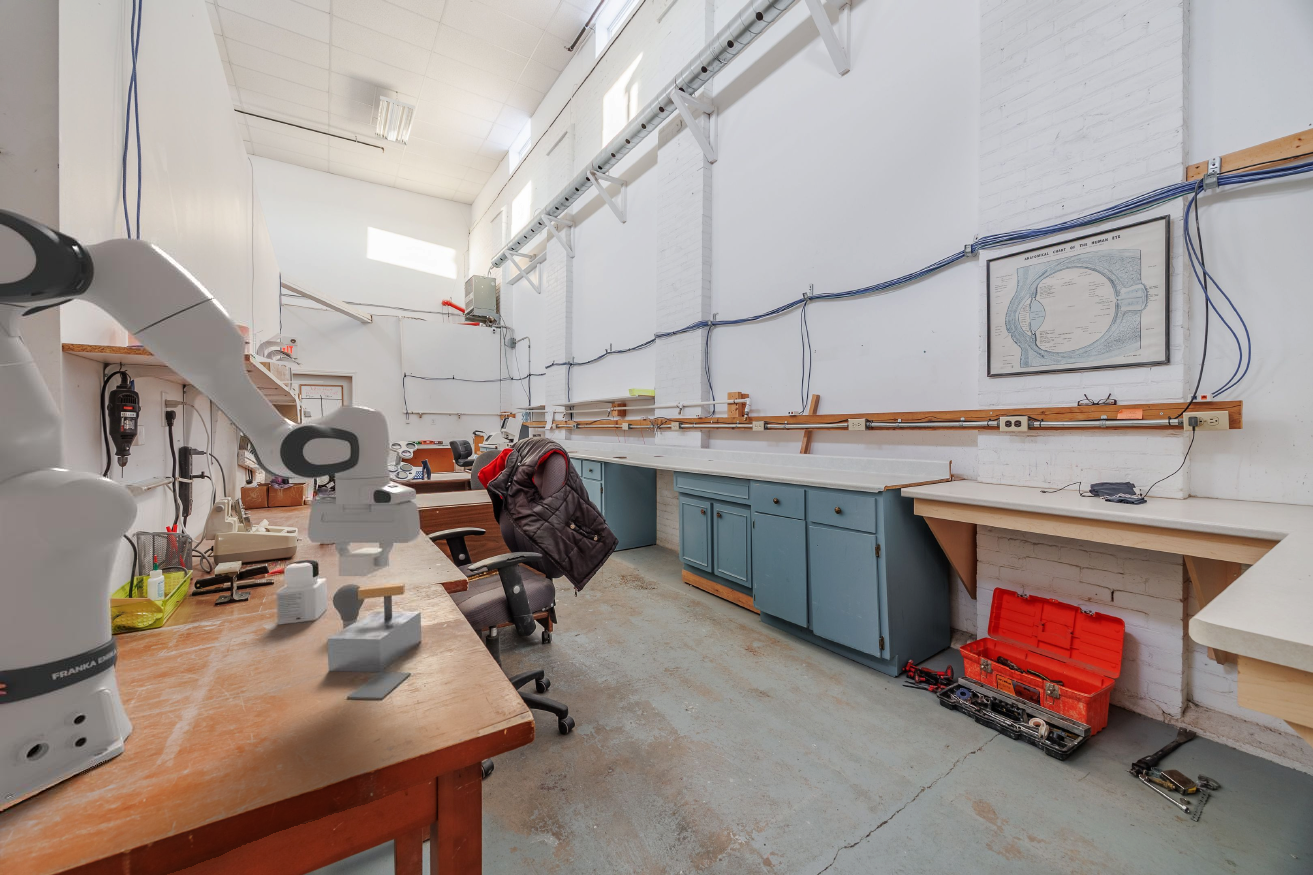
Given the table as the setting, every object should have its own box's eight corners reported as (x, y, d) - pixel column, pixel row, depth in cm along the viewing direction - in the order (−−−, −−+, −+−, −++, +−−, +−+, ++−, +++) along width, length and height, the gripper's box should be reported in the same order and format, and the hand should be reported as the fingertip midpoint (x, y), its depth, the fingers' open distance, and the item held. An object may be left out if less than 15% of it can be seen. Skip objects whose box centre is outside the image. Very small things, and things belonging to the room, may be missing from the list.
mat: (381, 699, 79) (381, 697, 79) (347, 698, 79) (346, 696, 79) (410, 674, 87) (410, 672, 87) (378, 673, 87) (378, 671, 87)
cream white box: (364, 576, 88) (364, 556, 88) (338, 576, 88) (338, 556, 88) (389, 565, 95) (388, 547, 95) (364, 565, 95) (364, 547, 95)
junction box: (380, 672, 88) (379, 639, 88) (328, 670, 88) (327, 638, 88) (421, 640, 101) (420, 611, 100) (375, 639, 101) (374, 611, 101)
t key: (359, 621, 96) (358, 590, 96) (361, 618, 97) (360, 587, 97) (404, 616, 98) (403, 585, 98) (405, 613, 100) (404, 583, 99)
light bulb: (372, 624, 109) (370, 580, 109) (353, 636, 103) (351, 589, 103) (347, 624, 110) (345, 580, 110) (327, 635, 104) (325, 589, 104)
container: (291, 612, 118) (289, 559, 117) (328, 608, 120) (326, 556, 120) (276, 625, 110) (274, 568, 110) (316, 620, 113) (314, 564, 112)
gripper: (298, 494, 89) (299, 569, 89) (404, 494, 87) (405, 571, 88) (324, 490, 95) (325, 560, 95) (424, 490, 94) (425, 561, 94)
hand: (364, 565), depth 92 cm, fingers closed on cream white box, 5 cm apart
